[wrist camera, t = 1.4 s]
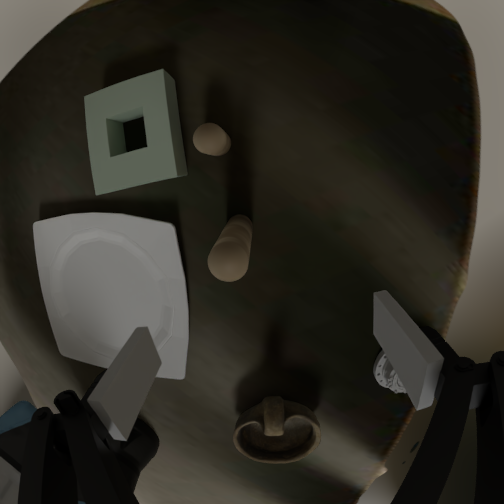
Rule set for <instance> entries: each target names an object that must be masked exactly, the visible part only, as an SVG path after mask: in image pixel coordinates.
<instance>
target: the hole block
mask: <svg viewBox="0 0 504 504" xmlns="http://www.w3.org/2000/svg"><path fill="white" fill-rule="evenodd" d="M84 100H85V115H86V127H87V137H88V146H89V154H90V162H91V169H92V175H93V181H94V187H95V193H96V195H100V194H105V193H109V192H114V191H118V190H122V189H126V188H130V187H134V186H138V185H143V184H147V183H151V182H156V181H160V180H165V179H170V178H175V177H180V176H185V175H188V172H187V166H186V159H185V153H184V146H183V140H182V133H181V125H180V118H179V111H178V103H177V95H176V87H175V80H174V79H173V78H172V77H171V76H170V75H169V74H168V73H167V72H166V71H165V70H164V69H161V70H157V71H154V72H151V73H147V74H144V75H141V76H138V77H135V78H132V79H129V80H126V81H123V82H120V83H118V84H115V85H112V86H109V87H107V88H104V89H102V90H99V91H97V92H94V93H92V94H90V95H87V96H85V97H84ZM140 117H144V123H145V131H146V139H147V146H148V147H146V148H142V149H138V150H134V151H131V152H127V151H126V144H125V136H124V128H123V123H124V122H127V121H130V120H134V119H137V118H140Z"/></svg>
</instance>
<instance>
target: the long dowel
mask: <svg viewBox="0 0 504 504" xmlns="http://www.w3.org/2000/svg"><path fill="white" fill-rule="evenodd" d="M252 230H253V225H252V222H251V220H250V219H249V218H248V217H247V216H245V215H241V214H238V215H234V216H233V217H231V218H230V219H229V221H228V223H227V224H226V226H225V228H224V229H223V231H222V233H221V235H220V236H219V238H218V240H217V242H216V243H215V245H214V247H213V248H212V250H211V252H210V254H209V257H208V266H209V269H210V271H211V273H212V274H213V275H214V276H215V277H216V278H218V279H220V280H222V281H228V282H230V281H235V280H238V279H240V278H241V277H242V276H243V275H244V274H245V273H246V271H247V268H248V263H249V254H250V246H251V238H252Z"/></svg>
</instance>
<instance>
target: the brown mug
mask: <svg viewBox="0 0 504 504" xmlns="http://www.w3.org/2000/svg"><path fill="white" fill-rule="evenodd" d="M233 441H234V444H235V446H236V448H237V449H238V450H239V451H240V452H241V453H242V454H244V455H245V456H247V457H249V458H250V459H253V460H255V461H259V462H265V463H289V462H294V461H297V460H300V459H302V458H304V457H305V456H307V455H308V454H309V453H311V452H312V451H313V450H315V449H316V448H317V447H318V445H319V444H320V441H321V430H320V424H319V422H318V420H317V418H316V416H315V414H314V413H313V412H312V411H311V410H310V409H309V408H307V407H306V406H304V405H302V404H300V403H297V402H294V401H289V400H283V399H282V398H281V397H280V396H268V397H265V398H264V399H263V400H262V402H261V403H259V404H257V405H255V406H253V407H251V408H250V409H248V410H246V411H245V412H243V413H242V414H241V415H240V417H239V418H238V420H237V423H236V426H235V430H234V435H233Z"/></svg>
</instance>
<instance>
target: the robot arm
mask: <svg viewBox="0 0 504 504" xmlns="http://www.w3.org/2000/svg"><path fill="white" fill-rule="evenodd" d="M373 334H374V335H375V337H376V339H377V340H378V342H379V344H380V346H381V347H382V349H383V351H384V352H385V354H386V356H387V358H388V359H389V361H390V363H391V365H392V366H393V368H394V370H395V372H396V373H397V375H398V377H399V379H400V381H401V382H402V384H403V386H404V388H405V390H406V391H407V393H408V395H409V397H410V399H411V401H412V403H413V404H414V406H415V408H416V410H420V409H423V408H425V407H428V406H431V405H432V402H433V399H434V396H435V398H436V400H437V401H438V402H437V405H436V408H435V411H434V413H433V416H432V419H431V422H430V424H429V427H428V429H427V432H426V434H425V436H424V439H423V441H422V444H421V446H420V448H419V450H418V453H417V455H416V457H415V459H414V461H413V463H412V466H411V467H410V469H409V471H408V473H407V475H406V477H405V479H404V481H403V483H402V485H401V486H400V489H399V490H398V492H397V494H396V495H395V497H394V499H393V501H392V502H391V504H437V502H438V499H439V497H440V495H441V492H442V490H443V488H444V486H445V483H446V481H447V478H448V475H449V473H450V470H451V468H452V465H453V462H454V459H455V456H456V453H457V450H458V447H459V444H460V441H461V437H462V434H463V430H464V426H465V423H466V419H467V414H468V411H469V409H472V408H476V421H477V474H476V488H475V498H474V504H504V351H499V352H496V353H494V354H493V355H492V357H491V359H490V362H486V363H479V364H475V362H474V361H473V360H471V359H470V358H467V357H459V356H458V355H457V354H456V352H455V351H454V350H453V349H452V348H451V347H450V345H449V344H448V343H447V342H445V340H444V339H443V338H442V337H441V335H440V334H439V333H438V332H437V331H436V330H435V329H433V328H431V327H429V326H426V327H423V328H419V327H418V326H417V325H416V324H415V322H414V321H413V320H412V319H411V318H410V317H409V315H408V314H407V313H406V312H405V311H404V310H403V309H402V307H401V306H400V305H399V304H398V303H397V302H396V301H395V300H394V298H393V297H392V296H391V295H390V294H389V293H388V292H387V291H386V290H384V291H379V292H375V293H374V331H373ZM161 364H162V362H161V359H160V357H159V354H158V352H157V350H156V347H155V345H154V342H153V339H152V337H151V334H150V332H149V329H148V326H146V327H137V328H136V329H135V330H134V332H133V333H132V335H131V336H130V337H129V339H128V340H127V342H126V343H125V345H124V346H123V347H122V349H121V350H120V352H119V353H118V355H117V356H116V357H115V359H114V360H113V362H112V363H111V365H110V366H109V368H108V369H107V370H104V371H103V372H102V373H100V374H99V375H98V376H97V377H96V379H95V380H94V383H92V385H91V386H90V388H89V389H88V391H87V392H86V394H85V395H84V397H83V398H82V400H81V401H80V399H79V398H78V396H77V394H76V393H75V391H73V390H66V391H63V392H61V393H59V394H58V395H57V396H56V397H55V399H54V404H55V406H56V407H57V409H58V410H59V411H60V413H59V414H53V412H52V411H51V410H50V408H48V407H42V408H39V409H36V408H35V407H34V406H33V405H32V404H31V403H29V402H28V401H19V402H18V403H16V404H15V405H14V406H12V407H11V408H10V409H9V410H8V411H7V412H5V413H4V414H3V415H2V416H1V417H0V504H139V502H138V500H137V499H136V497H135V495H134V490H135V487H136V484H137V481H138V478H139V475H140V472H141V471H142V470H143V468H144V467H145V466H146V465H147V464H148V463H149V462H150V460H151V459H152V458H153V457H154V456H155V455H156V453H157V450H158V447H159V440H158V437H157V436H156V434H155V433H154V431H153V430H152V429H151V428H150V427H149V426H148V425H146V424H145V423H144V422H142V421H141V420H139V419H138V418H137V416H138V414H139V412H140V410H141V407H142V405H143V403H144V401H145V399H146V396H147V394H148V392H149V390H150V388H151V385H152V383H153V381H154V379H155V377H156V375H157V373H158V370H159V368H160V366H161Z"/></svg>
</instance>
